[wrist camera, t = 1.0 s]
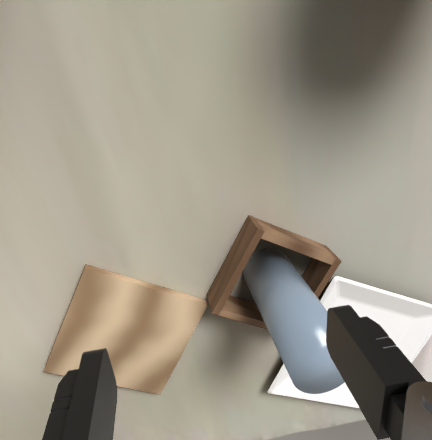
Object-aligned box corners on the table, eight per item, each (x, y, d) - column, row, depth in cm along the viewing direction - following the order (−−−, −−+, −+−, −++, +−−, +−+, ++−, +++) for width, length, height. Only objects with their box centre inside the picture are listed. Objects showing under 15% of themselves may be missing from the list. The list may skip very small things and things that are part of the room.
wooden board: (45, 365, 43) (43, 371, 42) (85, 264, 39) (84, 269, 38) (159, 388, 47) (160, 394, 46) (206, 300, 43) (207, 305, 42)
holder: (206, 294, 43) (211, 313, 40) (248, 215, 40) (257, 228, 37) (283, 317, 46) (293, 336, 43) (326, 246, 43) (341, 261, 40)
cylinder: (235, 282, 43) (278, 386, 29) (257, 242, 41) (314, 331, 28) (275, 296, 45) (333, 399, 31) (298, 257, 43) (370, 348, 30)
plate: (439, 301, 51) (451, 310, 49) (369, 401, 56) (377, 413, 54) (327, 267, 45) (335, 276, 43) (262, 382, 50) (267, 394, 49)
